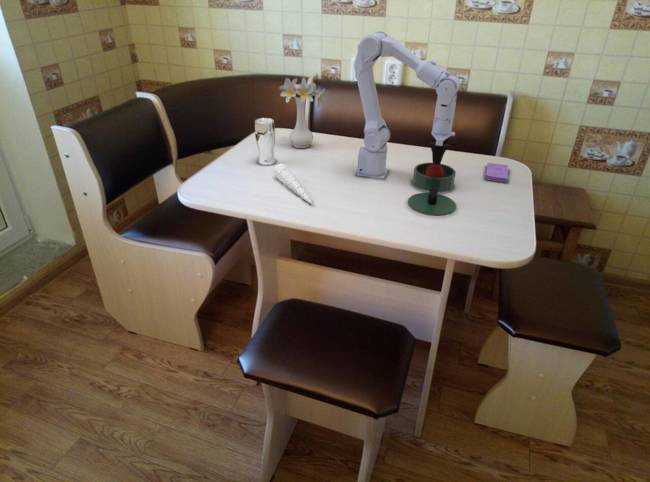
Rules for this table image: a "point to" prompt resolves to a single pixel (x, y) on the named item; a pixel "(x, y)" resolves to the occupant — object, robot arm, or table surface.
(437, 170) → the onion
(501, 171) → the sponge
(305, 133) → the flower vase
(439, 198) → the lid
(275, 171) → the unicorn horn
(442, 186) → the pot
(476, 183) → the table surface
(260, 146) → the beer glass
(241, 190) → the table surface
